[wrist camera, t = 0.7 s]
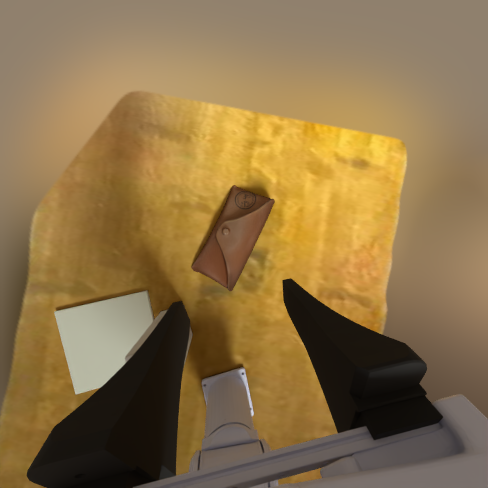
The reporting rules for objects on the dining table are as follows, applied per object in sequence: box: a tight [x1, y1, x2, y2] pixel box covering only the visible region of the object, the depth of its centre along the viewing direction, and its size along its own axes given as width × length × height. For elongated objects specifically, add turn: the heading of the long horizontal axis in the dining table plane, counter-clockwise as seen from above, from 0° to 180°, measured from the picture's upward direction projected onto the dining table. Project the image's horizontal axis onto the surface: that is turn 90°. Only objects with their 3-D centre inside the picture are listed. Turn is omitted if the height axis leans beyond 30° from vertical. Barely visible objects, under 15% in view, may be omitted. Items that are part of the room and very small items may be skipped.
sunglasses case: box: [192, 185, 275, 291], centre depth 31 cm, size 18×7×7 cm, turn 155°
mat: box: [54, 290, 154, 394], centre depth 29 cm, size 14×14×1 cm
